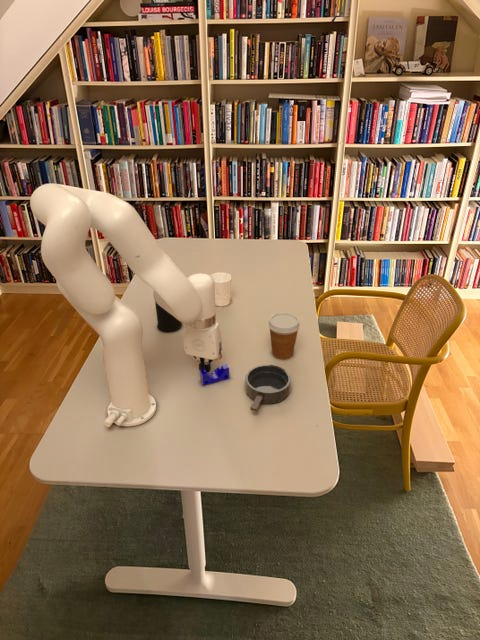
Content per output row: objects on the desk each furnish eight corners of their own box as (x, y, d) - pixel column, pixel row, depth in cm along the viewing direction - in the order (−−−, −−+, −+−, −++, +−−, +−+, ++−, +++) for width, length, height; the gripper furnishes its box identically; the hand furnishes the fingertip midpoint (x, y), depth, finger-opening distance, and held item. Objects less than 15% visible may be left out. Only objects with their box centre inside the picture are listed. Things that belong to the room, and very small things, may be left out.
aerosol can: (177, 333, 157) (172, 279, 147) (153, 331, 159) (147, 277, 148) (185, 320, 164) (180, 267, 154) (162, 318, 166) (156, 265, 155)
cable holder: (224, 371, 140) (224, 360, 138) (229, 378, 138) (229, 367, 136) (198, 378, 138) (198, 367, 136) (203, 386, 135) (202, 374, 133)
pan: (282, 409, 127) (283, 397, 124) (239, 398, 130) (239, 386, 128) (294, 381, 136) (295, 370, 134) (254, 372, 140) (254, 360, 138)
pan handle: (256, 411, 122) (256, 409, 122) (250, 410, 123) (250, 407, 122) (264, 396, 127) (264, 393, 127) (258, 394, 128) (258, 392, 127)
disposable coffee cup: (260, 353, 148) (261, 320, 141) (280, 341, 154) (281, 308, 147) (285, 366, 142) (286, 332, 136) (304, 352, 148) (307, 319, 142)
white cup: (231, 307, 172) (231, 282, 166) (209, 307, 172) (208, 282, 167) (232, 296, 178) (231, 272, 173) (211, 296, 179) (210, 272, 173)
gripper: (170, 320, 128) (175, 374, 138) (222, 330, 124) (224, 386, 134) (182, 307, 134) (187, 360, 144) (232, 316, 130) (233, 370, 139)
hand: (205, 372), depth 139 cm, fingers closed
